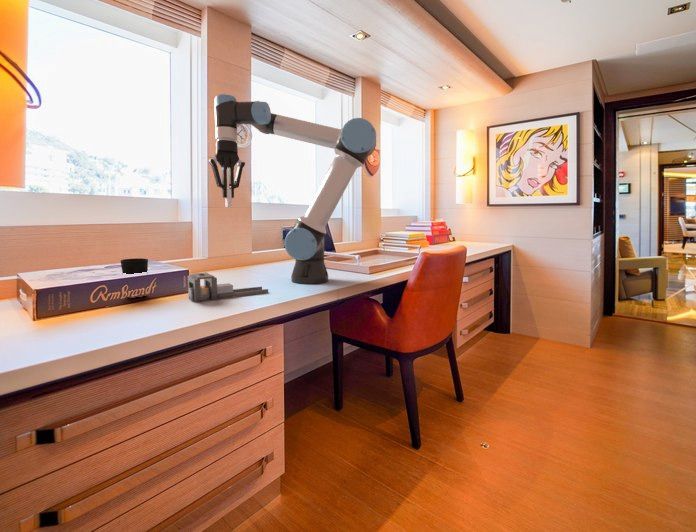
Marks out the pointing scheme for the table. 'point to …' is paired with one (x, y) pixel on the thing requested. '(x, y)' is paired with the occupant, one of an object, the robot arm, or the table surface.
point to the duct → (206, 291)
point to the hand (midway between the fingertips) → (228, 206)
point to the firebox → (212, 281)
